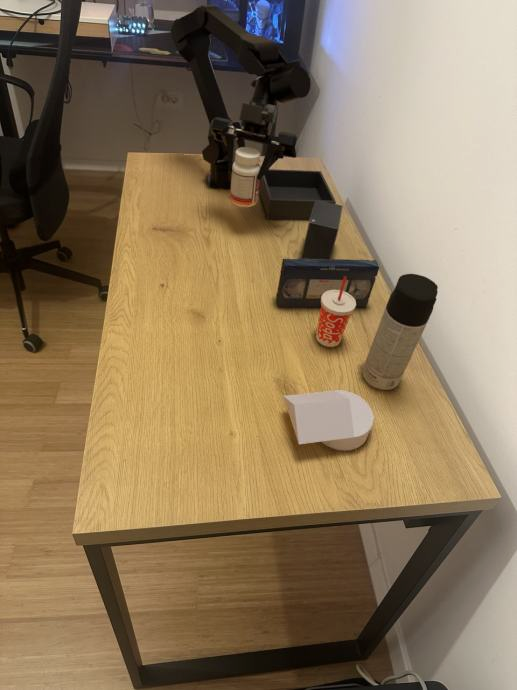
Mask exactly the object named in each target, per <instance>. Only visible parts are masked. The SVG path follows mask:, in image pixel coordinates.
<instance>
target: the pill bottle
mask: <svg viewBox="0 0 517 690" xmlns="http://www.w3.org/2000/svg"><path fill="white" fill-rule="evenodd" d="M260 159H261V152H260V151H259V150H258V149H256V148H254V147H249V146H245V147H241V148H238V149H237V150H236V155H235V162H234V163H233V166H232V178H231V188H230V195H229V196H230V197H229V199H230V202H231V203H232V204H234V206H237V207H239V208H240V207H241V208H250V207H254V206H255V205H256V204H257V203H258V200H259V199H258V198H259V192H260V191H259V182H260V180H258V175H259V171H260V168H261V164H260Z"/></svg>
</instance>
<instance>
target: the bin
mask: <svg viewBox="0 0 517 690" xmlns="http://www.w3.org/2000/svg"><path fill="white" fill-rule="evenodd" d="M258 192H259V194H260V198H261V202H262V205H263V208H264V211H265V215H266V219H267V220H291V221H309V220H310V217H311V214H312V210H313V207H314V204H315V201H316V200H320V201H324V202H328V203H333V204H337V201H336V198H335V197H334V195H333V193H332V191H331V189H330V187H329V184H328V183H327V181H326V179H325V176H324V175H323V173H322V171H321V170H299V169H277V168H276V169H275V168H269V169H268V171H267V172H266V173H265V174H264V176H263V177H262V178H261V180H260V182H259V191H258Z"/></svg>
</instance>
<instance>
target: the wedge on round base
mask: <svg viewBox="0 0 517 690" xmlns="http://www.w3.org/2000/svg"><path fill="white" fill-rule="evenodd" d="M282 397H283V400H284V403H285V406H286V410H287V412H288V415H289V418H290V421H291V425H292V427H293V430H294V434H295V437H296V439H297V443H298V445H306V444H312V443H322V444H323V445H325V446H327V447H329V448H330V449H333V450H337V451H344V452H345V451H352V450H357V448H359V447H361V446H362V445H363V444H364V443H365V442H366V441H367V438H368V436H369V435H370V431H371V429H372V427H373V424H374V420H375V419H374V417H375V416H374V412H373V410H372V408H371V405H369V403H368V402H367V401H366V400H365V399H364V398H362V397H361V396H359V395H358V394H355V393H354V392H351V391H349V390H348V391H347V390H343V389H334V390H333V389H332V390H325V391H316V392H307V393H295V394H287V395H282Z"/></svg>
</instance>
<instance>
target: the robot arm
mask: <svg viewBox="0 0 517 690" xmlns="http://www.w3.org/2000/svg"><path fill="white" fill-rule="evenodd" d="M170 36H171V39H172V41H173V43H174V47H175V49H176V50H177V52H178V54H179V55H180V56H181V57H182V58H183V59H184V60H185V61H186V62H187V63H188V64H189V67H190V70H191V74H192V75H193V80H194V83H195V85H196V88H197V91H198V94H199V96H200V100H201V102H202V105H203V108H204V111H205V114H206V117H207V120H208V124H209V126H208V127H209V128H208V134H207V140H208V141H207V142H208V145H207V146H206V147H205V148H203V149H202V151H201V154H202V160H203V161H205V162H207V163H208V164H209V165H210V166H209V173H208V174H207V183H208V188H218V189H220V188H221V189H231V178H232V166H233V163H234V162H235V161H236V160H235V155H236V150H237V149H238V148H241V147H246V141H249V142H253V143H258V144H261V145H267V148H266V152H265V155H264V157H263V160H262V163H261V164H260V167H261V168H260V171H259V175H258V180H261V178H262V177H263V176H264V174H265V173H266V172H267V171H268V169H271V167H272V166H273V165H274V164H275V163H276V162H277V161H278V160H279V159H280V160H283V159H284V157H289V158H293V159H295V158H297V156H298V152H299V147H300V144H299V138H298V136H297V134H295V133H290V132H286V131H282V130H281V131H279V133H278V135H277V136H276V135H275V136H274V135H271V132H272V128H273V124H275V122H276V119H277V112H278V107H279V104H280V103H281V104H286V103H290V102H294V101H297V100H300V99H303V98H305V97H307V96H308V95H309V93H310V91H311V86H312V85H311V84H312V83H311V77H310V76H309V74H308V72H307V70H306V69H305V68H304V67H302V66H301V62H300V60H299V59H296V60H290V61H288V60H287V59H286V58H285V56H284V55H283V54H282V52H281V51H280V49H279V47H278V46H279V45H278V44H277V43H276V42H275V41H274V40H271V39H269V38H267V37H265V36H262V35H258V34H253V33H251V32H249V31H248V30H246V29H245V28H244V27H242V26H241V25H240V24H239V23H237V22H236V21H235V20H234V19H232V18H231V17H229V16H228V14H226V13H225V12H223V11H222V10H221V8H220V6H217V5H216V4H208V5H207V4H206V5H199V6H198V7H196V8H195V9H194V10H193V11H191V12H188V14H185V15H184V16H181V17H180V18H175V20H174V21H173V23H172V25H171V27H170ZM211 36H214V37H215V38H216V39H218V41H220V42H221V43H223V45H225V46H226V47H227V48H228V49H230V50H231V51H232V52H233V53H234V54H235V55H236V60H237V63H238V64H239V65H240V66H241V67H242V69H243V70H244V71H245V72H246V73H247V74H248V75H255V76H256V77H257V78H256V79H254V80H253V81H251V83H250V86H251V87H252V88H254V90H253V94H252V97H251V100H250V101H249V102H248V103H245V102H242V103H241V109H240V114H239V121H241V122H239V121H238V120H237V121H233V119H232V118H230V116H229V113H228V111H227V108H226V104H225V102H224V99H223V96H222V95H223V94H222V92H221V89H220V85H219V83H218V80H217V78H216V77H217V76H216V74H215V72H214V68H213V65H212V61H211V59H210V55H209V54H210V48H211V44H212V43H211V42H212V41H211ZM242 127H243V128H242Z"/></svg>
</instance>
